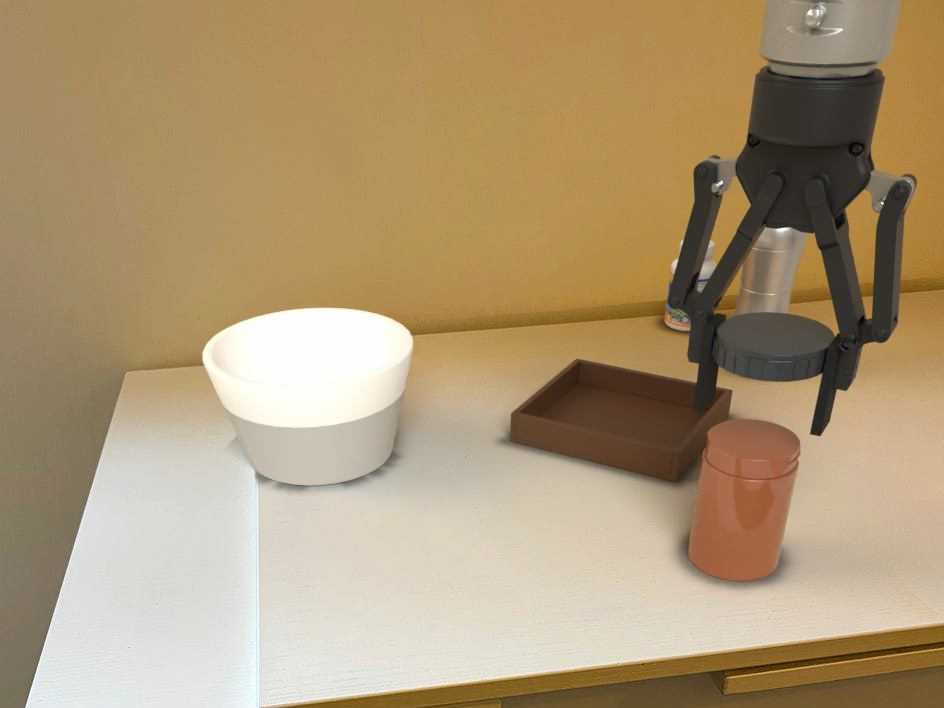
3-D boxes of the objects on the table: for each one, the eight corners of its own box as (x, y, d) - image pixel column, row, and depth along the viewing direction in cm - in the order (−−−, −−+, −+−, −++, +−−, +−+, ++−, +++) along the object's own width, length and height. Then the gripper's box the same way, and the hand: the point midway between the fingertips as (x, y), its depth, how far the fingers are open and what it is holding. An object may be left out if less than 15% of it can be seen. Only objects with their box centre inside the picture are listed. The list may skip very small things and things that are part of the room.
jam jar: (788, 546, 82) (814, 429, 76) (762, 590, 77) (788, 470, 71) (704, 524, 85) (722, 410, 79) (675, 566, 80) (691, 447, 74)
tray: (728, 417, 101) (732, 389, 99) (675, 482, 91) (679, 452, 89) (575, 384, 108) (576, 358, 106) (510, 441, 98) (510, 413, 96)
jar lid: (695, 369, 70) (699, 343, 69) (733, 329, 75) (736, 305, 74) (812, 391, 67) (818, 364, 65) (843, 348, 72) (848, 322, 71)
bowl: (185, 486, 92) (161, 376, 85) (271, 399, 106) (256, 299, 100) (381, 512, 88) (372, 398, 81) (443, 418, 102) (439, 315, 96)
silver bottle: (774, 383, 107) (811, 186, 95) (714, 372, 110) (742, 179, 98) (790, 362, 112) (828, 171, 99) (732, 352, 115) (761, 164, 102)
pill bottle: (655, 322, 122) (663, 241, 116) (686, 313, 124) (696, 232, 118) (686, 336, 119) (697, 252, 112) (718, 325, 121) (730, 243, 115)
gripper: (634, 65, 61) (610, 407, 75) (1001, 87, 53) (896, 468, 67) (677, 47, 66) (647, 371, 80) (1018, 65, 58) (917, 424, 72)
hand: (760, 415), depth 74 cm, fingers closed on jar lid, 8 cm apart
